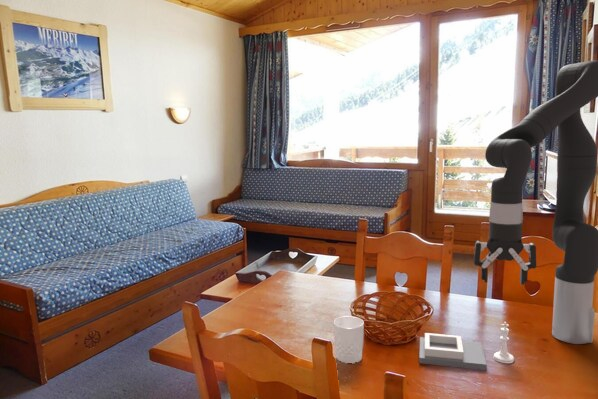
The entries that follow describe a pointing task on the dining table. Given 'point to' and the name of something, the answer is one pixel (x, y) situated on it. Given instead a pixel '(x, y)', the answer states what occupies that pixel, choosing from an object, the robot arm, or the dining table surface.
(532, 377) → the dining table surface
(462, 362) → the socket board
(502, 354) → the chess piece
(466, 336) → the dining table surface
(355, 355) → the white cup
